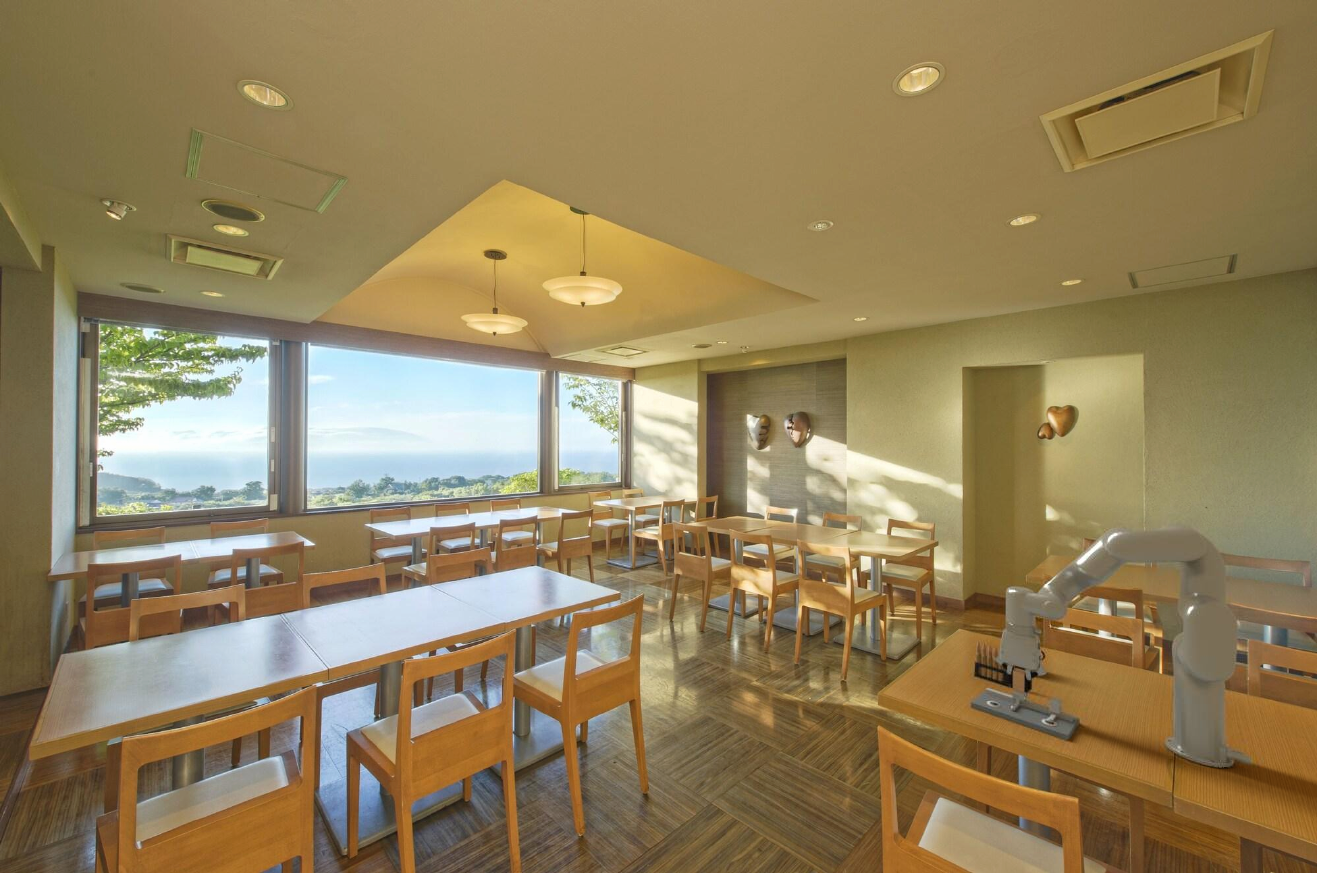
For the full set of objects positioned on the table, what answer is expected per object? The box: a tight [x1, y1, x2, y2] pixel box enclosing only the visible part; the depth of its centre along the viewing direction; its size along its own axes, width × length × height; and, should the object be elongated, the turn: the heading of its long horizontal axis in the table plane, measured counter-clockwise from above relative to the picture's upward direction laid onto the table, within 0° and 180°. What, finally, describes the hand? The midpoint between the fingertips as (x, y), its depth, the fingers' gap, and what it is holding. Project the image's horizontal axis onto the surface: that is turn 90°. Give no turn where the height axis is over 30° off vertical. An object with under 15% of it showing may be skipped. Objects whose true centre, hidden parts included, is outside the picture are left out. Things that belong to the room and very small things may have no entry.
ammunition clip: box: [974, 641, 1010, 688], centre depth 182 cm, size 11×2×12 cm, turn 40°
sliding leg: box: [1011, 668, 1029, 711], centre depth 161 cm, size 3×9×10 cm, turn 131°
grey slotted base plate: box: [970, 687, 1081, 742], centre depth 159 cm, size 24×14×6 cm, turn 41°
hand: (1019, 688), depth 163 cm, fingers closed on sliding leg, 3 cm apart
